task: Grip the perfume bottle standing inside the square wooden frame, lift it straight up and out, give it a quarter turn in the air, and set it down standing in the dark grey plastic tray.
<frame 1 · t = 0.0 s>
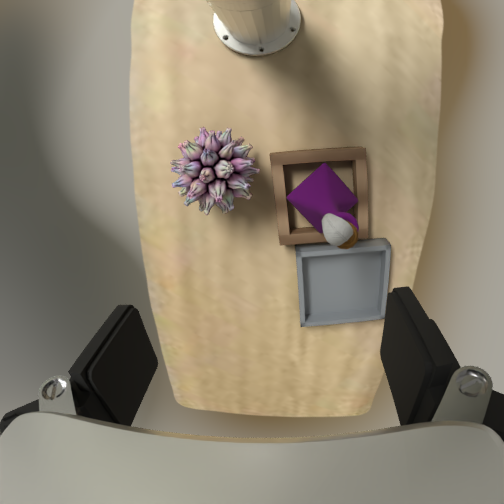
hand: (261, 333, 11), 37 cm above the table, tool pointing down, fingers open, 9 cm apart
perfume bottle: (320, 193, 45), resting in square wooden frame
flower: (223, 163, 45), on the table
square wooden frame: (320, 193, 45), on the table
tray: (341, 279, 50), on the table
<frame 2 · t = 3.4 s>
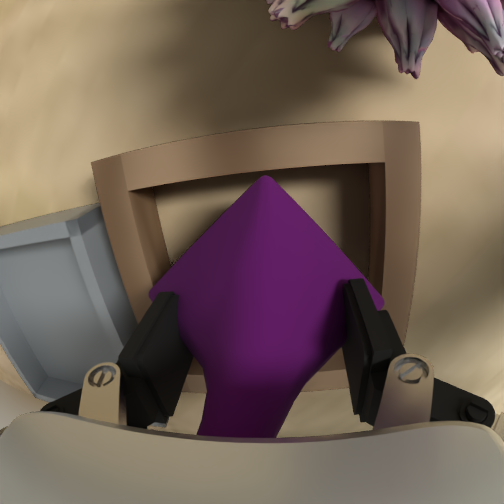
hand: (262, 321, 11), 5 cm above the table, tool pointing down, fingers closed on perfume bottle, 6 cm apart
perfume bottle: (268, 264, 16), resting in square wooden frame, touching gripper
square wooden frame: (268, 266, 16), on the table
tray: (65, 316, 19), on the table
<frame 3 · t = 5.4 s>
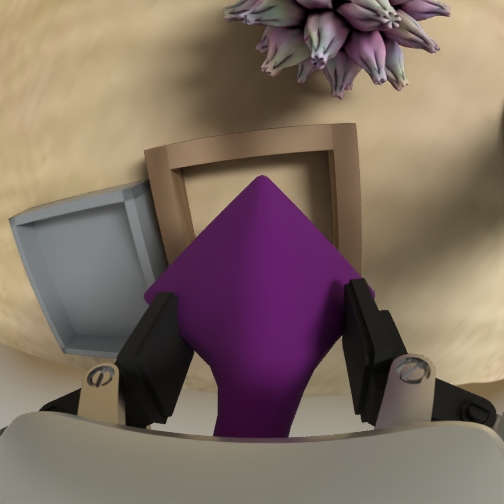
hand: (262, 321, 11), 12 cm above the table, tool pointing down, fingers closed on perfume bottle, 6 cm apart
perfume bottle: (258, 264, 16), point 7 cm above the table, touching gripper
flower: (321, 29, 17), on the table
square wooden frame: (261, 223, 23), on the table
tray: (101, 274, 26), on the table
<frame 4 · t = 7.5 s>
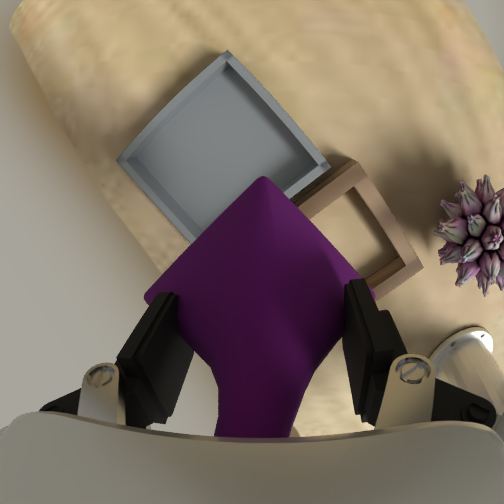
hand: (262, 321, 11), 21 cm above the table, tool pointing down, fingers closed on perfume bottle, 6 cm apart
perfume bottle: (259, 264, 16), point 16 cm above the table, touching gripper
flower: (458, 216, 29), on the table
square wooden frame: (337, 248, 32), on the table
tray: (222, 155, 29), on the table
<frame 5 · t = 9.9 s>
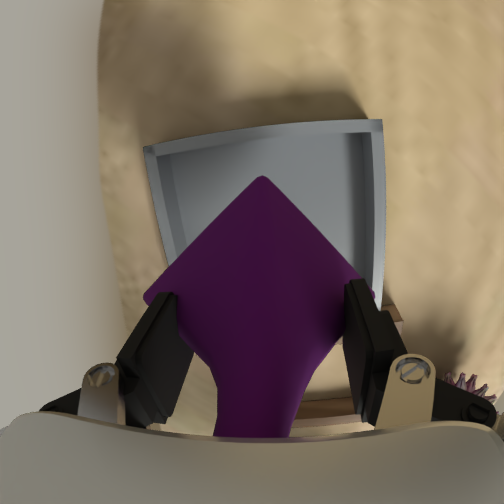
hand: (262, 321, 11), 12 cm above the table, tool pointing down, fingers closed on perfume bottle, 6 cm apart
perfume bottle: (258, 264, 16), point 7 cm above the table, touching gripper
flower: (433, 385, 28), on the table
square wooden frame: (319, 368, 28), on the table
tray: (273, 222, 22), on the table
when the fingers open (6 cm above the table, at t = 11.9 s): perfume bottle stays where it is, resting on tray.
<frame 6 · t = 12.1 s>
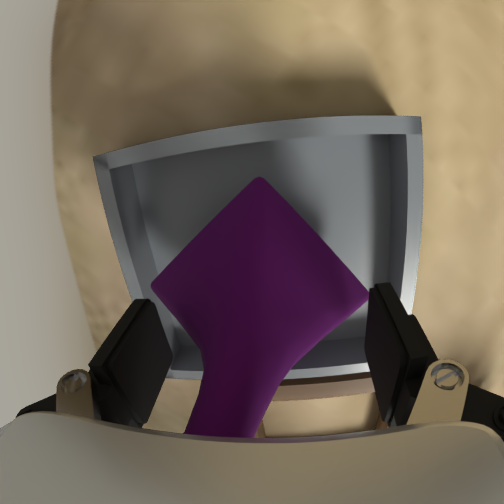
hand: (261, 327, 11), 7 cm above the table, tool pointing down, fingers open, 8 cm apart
perfume bottle: (262, 260, 17), resting on tray
square wooden frame: (322, 412, 23), on the table
tray: (269, 251, 17), on the table
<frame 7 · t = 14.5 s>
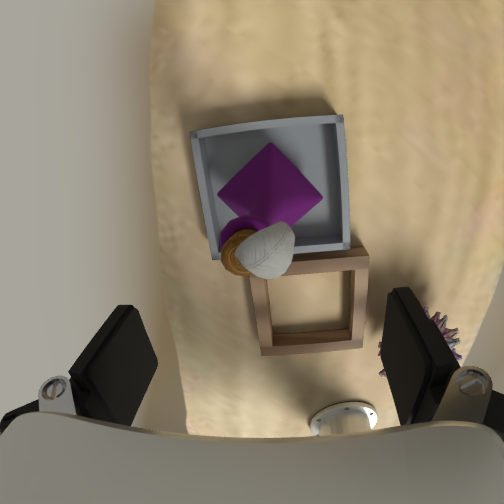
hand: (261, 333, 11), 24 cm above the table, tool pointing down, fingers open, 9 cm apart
perfume bottle: (271, 187, 32), resting on tray
flower: (406, 324, 39), on the table
square wooden frame: (310, 300, 38), on the table
tray: (274, 184, 33), on the table
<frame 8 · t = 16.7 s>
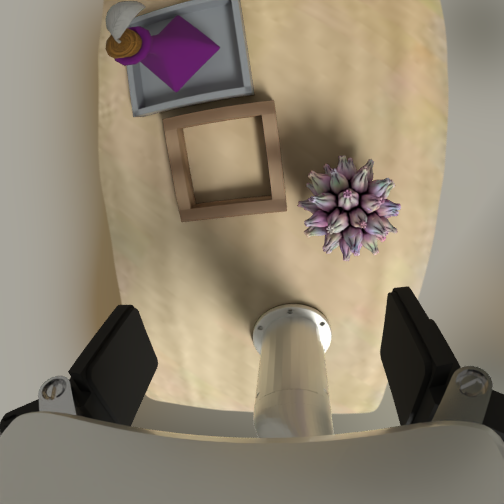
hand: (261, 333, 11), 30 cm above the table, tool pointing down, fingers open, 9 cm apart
perfume bottle: (185, 57, 32), resting on tray
flower: (340, 195, 39), on the table
square wooden frame: (227, 160, 38), on the table
tray: (188, 55, 32), on the table
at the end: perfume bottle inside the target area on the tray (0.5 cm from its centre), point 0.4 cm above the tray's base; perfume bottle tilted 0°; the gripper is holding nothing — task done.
